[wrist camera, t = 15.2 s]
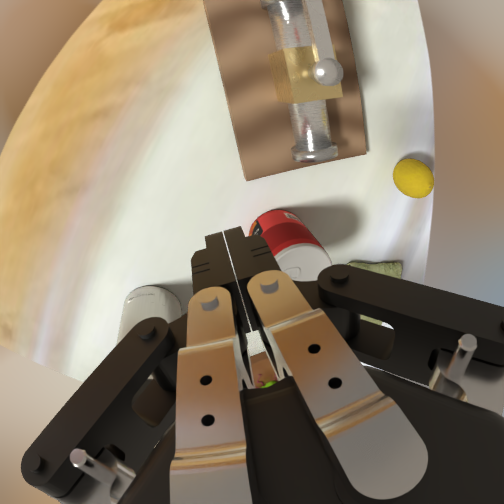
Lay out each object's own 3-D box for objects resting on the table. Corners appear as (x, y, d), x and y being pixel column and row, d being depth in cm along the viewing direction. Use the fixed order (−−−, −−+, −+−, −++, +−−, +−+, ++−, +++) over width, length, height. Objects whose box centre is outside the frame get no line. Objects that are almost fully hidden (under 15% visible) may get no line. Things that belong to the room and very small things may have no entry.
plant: (299, 332, 56) (319, 378, 46) (322, 380, 66) (339, 418, 56) (204, 373, 56) (210, 421, 47) (244, 413, 67) (254, 452, 57)
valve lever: (338, 84, 26) (346, 84, 25) (313, 87, 26) (319, 87, 24) (309, -43, 18) (314, -48, 17) (281, -43, 18) (286, -48, 17)
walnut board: (361, 151, 40) (366, 154, 39) (244, 178, 39) (246, 181, 38) (333, -11, 28) (338, -13, 26) (202, 0, 26) (203, -4, 25)
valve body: (326, 147, 38) (359, 162, 31) (286, 155, 38) (311, 173, 30) (298, 0, 28) (328, -19, 20) (254, 3, 27) (274, -18, 20)
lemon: (407, 148, 41) (441, 162, 34) (412, 179, 44) (445, 197, 37) (380, 160, 41) (413, 176, 35) (387, 192, 44) (418, 212, 38)
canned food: (241, 216, 42) (260, 258, 32) (297, 201, 42) (330, 236, 33) (253, 263, 46) (272, 311, 36) (304, 247, 46) (334, 290, 37)
